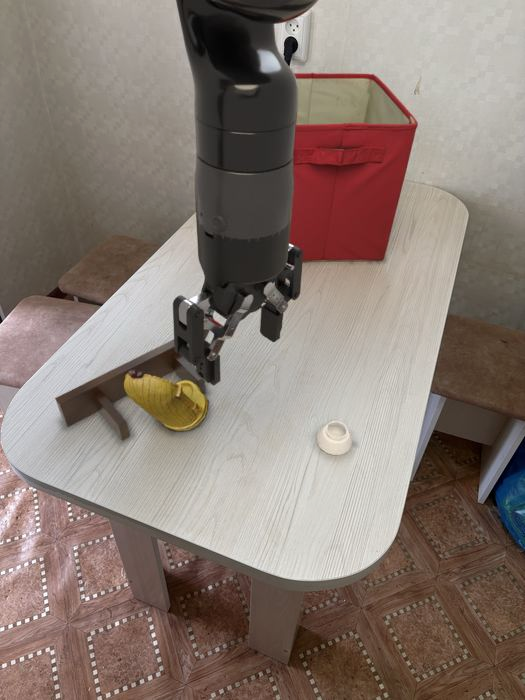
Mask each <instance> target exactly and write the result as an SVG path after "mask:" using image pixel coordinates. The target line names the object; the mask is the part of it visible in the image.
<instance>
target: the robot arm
mask: <svg viewBox="0 0 525 700" xmlns="http://www.w3.org/2000/svg"><path fill="white" fill-rule="evenodd" d="M175 2H176V8H177V13H178V18H179V22H180V23H179V24H180V28H181V34H182V38H183V44H184V49H185V52H186V56H187V60H188V64H189V67H190V70H191V75H192V76H191V77H192V81H193V86H194V89H193V90H194V103H193V104H194V125H195V126H194V130H195V132H194V133H195V149H196V153H195V154H196V157H195V158H196V160H195V161H196V162H195V173H194V200H195V202H194V203H195V222H196V240H197V241H196V243H197V256H198V257H197V258H198V262H199V264H200V267H201V270H202V272H203V275H204V281H203V284H202V287H201V290H200V293H198V294H196V295H195V296H192V297H190V298H187V297H185V296H183V295H178V296H176V297H175V298H174V299H173V302H172V322H173V323H172V324H173V340H174V349H175V352H177V353H178V354H179V355H181V356H183V357H184V358H185V359H187V360H188V361H189V363H190V364H191V365H192V366H193V367H195V369H196V373H197V375H198V376H199V377H200V378H202V379H203V380H204V381H205V383H207V384H210V385H212V386H216V385H217V384H218V383H220V382H221V355H219V354H220V352H221V350H222V347H223V346H224V344H225V341H226V340H230V339H232V338H233V336H234V334H235V332H236V330H237V328H238V326H239V324H240V323H241V322H242V321H244V320H245V319H246V318H247V317H248V316H249V315H250V314H252V313H255V312H258V310H260V325H259V332H260V335H262V337H264V338H266V339H267V340H269V341H270V342H272V343H276V342H277V341H278V340H279V339H280V338H281V333H282V329H283V321H284V313H286V311H287V309H288V307H289V302H290V301H291V300H292V301H296V300H298V298H299V297H300V294H301V288H302V274H303V262H302V261H303V250H302V249H300V248H298V247H296V246H294V245H292V244H291V243H289V239H290V229H291V218H292V207H293V196H294V168H293V160H294V145H295V134H296V122H297V112H298V84H297V80H296V77H295V75H294V73H295V72H294V71H293V69H292V68H291V67H290V66H289V65H288V63H287V61H286V60H285V59H284V57H283V56H282V54H281V52H280V51H279V49H278V44H277V39H276V30H275V29H276V27H275V25H278V24H279V25H280V24H283V23H288V22H291V21H293V20H295V19H298V18H299V17H301V16H303V15H305V14H306V13H307V12H308V11H310V10H311V9H312V8H313V7H315V5H316V4H317V3H318V2H319V0H175ZM287 281H288V282H287ZM215 312H216V313H217V314H218V315H219V316H220V317H222V318H224V319H225V320H226V321H225V322H224V324H221V323H220V322H219V321H217V320H215V319H214V313H215ZM210 332H211V333H213V338H212V339H211V341H210V342H209V341H207V338H208V335H209V334H210Z"/></svg>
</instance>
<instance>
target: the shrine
mask: <svg viewBox="0 0 525 700" xmlns="http://www.w3.org/2000/svg"><path fill="white" fill-rule="evenodd" d="M124 389H125V391H126V393H127V397H128V398H130V400H131V401H133V403H135V404H136V405H138V406H139V407H140V408H141V409H142V410H144V411H145V412H146V413H147V414H149V415H150V416H151V417H153V418H155V419H156V420H157V421H159V422H160V423H161V425H162V427H164V428H166V429H167V430H170V431H172V432H183V431H190V430H193V429H195V428H198V427H199V426H200V425H201V424H202V423H203V422H204V420H205V419H206V417H207V413H208V410H209V403H210V401H209V399H208V398H207V397H206V395H205V393H204V394H202V392H201V390H200V388H199V387H198V386H197V385H196V384H194V383H193V382H191V381H188V380H180V381H178V382H176V383H174V382H173V381H172V380H170V379H166V378H163V377H161V378H160V377H157V376H151V375H148V374H144V372H137V371H136V370H132V371H129V372H128V373H127V375H126V376H125V381H124Z"/></svg>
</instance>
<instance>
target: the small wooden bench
mask: <svg viewBox="0 0 525 700" xmlns="http://www.w3.org/2000/svg"><path fill="white" fill-rule="evenodd" d="M132 370H136V371H137V372H144V374H148V375H151V376H157V377H160V378H163V377H165V376H166V375H169V374H170V373H172V372H174V373H175V374H176V375H177V376H178V377H179V378H180V379H181V381H183V380H188V381H191V382H193V383H194V384H196V385H197V386H198V387H199V388H200V390H201V392H202V394H204V395H205V394H206V381H204V380H203V379H202V378H200V377H199V376H198V375H197V373H196V367H195V366H194V365H193V364H191V363H190V362H189V361H188V360H187V359H185V358H184V357H183V356H181V355H179V354H178V353H177V352H175V349H174V339H172V340H170V341H167V342H165V343H163V344H161V345H159V346H158V347H155V348H154V349H151V350H150V351H147V352H145V353H143V354H141V355H139V356H137V357H135V358H133V359H131V360H130V361H127V362H125V363H123V364H121V365H119V366H117V367H115V368H113V369H111V370H109V371H107V372H105V373H102V374H101V375H99V376H97V377H94V378H93V379H90V380H89V381H87V382H85V383H83V384H81V385H78V386H77V387H74V388H73V389H70V390H69V391H67V392H64V393H62V394H61V395H59V396H56V397H55V398H54V399H55V402H56V405H57V407H58V410H59V413H60V416H61V418H62V421H63V422H64V424H65V426H66V427H67V428H69V427H70V426H72V425H75V424H76V423H78V422H81V421H82V420H84V419H86V418H88V417H89V416H91V415H93V414H95V413H97V412H98V413H100V414H101V416H102V417H103V418H104V420H105V421H106V422H107V423H108V425H109V426H110V427H111V428H112V430H113V431H114V432H115V433H116V435H117V436H118V437H119V439H120V440H121V441H125V440H126V439H128V438H130V437H131V436H130V431H129V428H128V423H127V422H128V421H127V420H126V419H125V418H124V417H123V416H122V414H121V413H120V412H119V410H118V409H117V408H116V406H114V403H115V402H118V401H119V400H121V399H123V398H126V397H128V395H127V393H126V391H125V389H124V381H125V376H126V375H127V373H128V372H129V371H132Z"/></svg>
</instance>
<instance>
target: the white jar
mask: <svg viewBox="0 0 525 700" xmlns="http://www.w3.org/2000/svg"><path fill="white" fill-rule="evenodd" d="M316 443H317V445H318V447H319V448H320V450H322V451H324V452H325V453H326V454H329V455H331V456H332V455H333V456H342V455H344V454H346V453H348V452H349V451H350V450H351V449H352V445H353V436H352V434H351V432H350V430H349V429H348V427H347V425H346V424H345V423H343V421H339V420H331V421H330V422H328V423H326V424H324V425H323V426H322V427H321V428H320V429H319V430H318V432H317V434H316Z"/></svg>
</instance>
